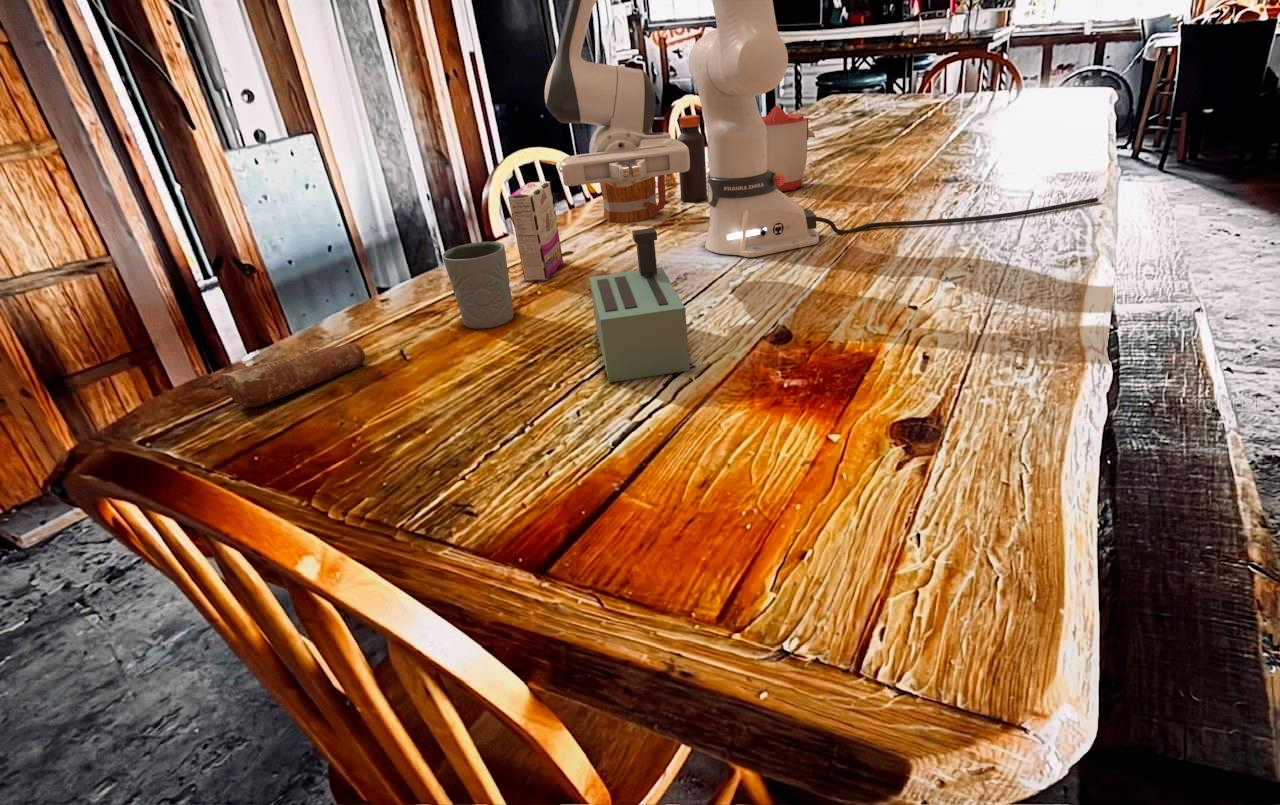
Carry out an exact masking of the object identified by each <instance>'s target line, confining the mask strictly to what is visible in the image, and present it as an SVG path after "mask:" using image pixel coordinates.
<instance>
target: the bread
mask: <svg viewBox="0 0 1280 805" xmlns="http://www.w3.org/2000/svg"><path fill="white" fill-rule="evenodd" d="M365 361H366V354H365V351H364V349H363V347H361V345H359V344H357V343H354V342H350V343H347V344H342V345H337V346H333V347H330V348H326V349H321V350H317V351H311V352H308V353H302V354H298V355H294V356H290V357H286V358H280V359H277V360H273V361H267V362H265V363H260V364H256V365H253V366H247V367H244V368H240V369H236V370H234V371H231V372H224V373H222V374H219V376H218V379H219V381H220V383H221V385H222V387H223V389H224V390H225V392H226V393H227V394H228V395H230V396H231V400H232V401H233V402H234V403H235V404H237V405H238V404H239V405H241V406H242V407H243V408H244V409H247V408H256V407H259V406H262V405H263V406H264V405H267V404H269V403H272V402H274V401H276V400H279V399H282V398H285V397H287V396H291V395H292V394H294V393H297V392H300V391H302V390H304V389H308V388H310V387H312V386H315V385H319V384H321V383H323V382H326V381H328V380H331V379H333V378H335V377H337V376H340V375H341V374H344V373H346V372H349V371H351V370H353V369H355V368H358V367H360V366H362V365H363V364H364V362H365Z"/></svg>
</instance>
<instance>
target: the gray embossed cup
mask: <svg viewBox="0 0 1280 805" xmlns="http://www.w3.org/2000/svg"><path fill="white" fill-rule="evenodd" d="M442 261H443V264H444V266H445V270H446V272H447V275H448V279H449V282H450V285H451V288H452V291H453V294H454V295H455V300H456V303H457V307H458V309H459V313H460V315H461V320H462V323H463V325H464V326H465V327H466V328H468V329H469V328H470V329H474V330H476V329H479V330H482V329H483V330H484V329H492V328H495V327H499V326H502V325H505V324H507V323H509V322H510V321H511V320H513V319H514V317H515V316H514V315H515V312H514V306H513V296H512V290H511V287H510V283H511V282H510V276H509V268H508V262H507V255H506V248H505V244H504V243H503V242H500V241H477V242H471V243H465V244H462V245H458V246H455V247H452V248H449V249H448V250H446V251H445V252H443V253H442Z"/></svg>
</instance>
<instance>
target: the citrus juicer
mask: <svg viewBox="0 0 1280 805" xmlns="http://www.w3.org/2000/svg"><path fill="white" fill-rule="evenodd" d="M761 118H762V119H763V121H764V123H765V125H766V129H767V169H768V170H770V171H772V172H774V173H776V174H777V173H780V174H782V175H784V177H785V178H784V179H786V180H784V181H785V182H783V183H784V184H783V185H781V186H779V185H777V188H776V189H778V190H779V191H781V192H785V191H794V190H796V189H797V188H799V187H800V186H801V183H802V181H803V178H804V174H805V171H806V166H807V159H808V141H809V138H815V139H816V135H815V132H813V131H811V130H810V129H809V117H806V118H805V116H804V114H800V113H799V114H797V113H795V114H794V113H792V114H791V113H789V114H788V113H786V112H785V110H783V108H781V107H780V106H779V105H775V106H774V107H772V109H771V110H770V112H769V113H768V114H767V115H764V116H761Z"/></svg>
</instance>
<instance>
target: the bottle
mask: <svg viewBox="0 0 1280 805" xmlns="http://www.w3.org/2000/svg"><path fill="white" fill-rule="evenodd" d="M700 121H701V120H700V115H699V114H690V115H689V114H688V115H682V116H680V117H679V129H680V130H681V133H680V134H679V136H678V137H677V138H676V140H679V141H681V142H682V143H684V144H685V145H686V146H687V147H688V149H689V157H690V169H689V170H688V171H686V172H679V174H678V175H679V188H680V199H681V201H682V202H686V203H695V202H701V201H705V200H706V199H708V187H707V183H708V182H707V166H706V147H705V146H706V145H705V136H704V134H702V133H701V132H700V129H699V128H700V126H701V122H700Z"/></svg>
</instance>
